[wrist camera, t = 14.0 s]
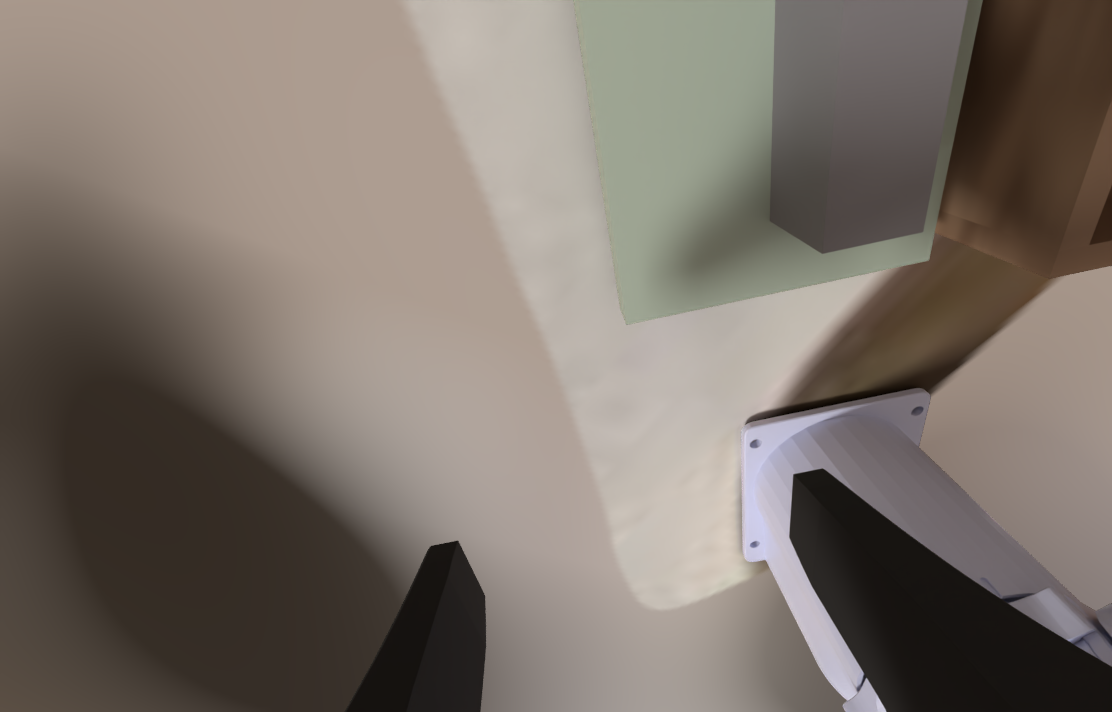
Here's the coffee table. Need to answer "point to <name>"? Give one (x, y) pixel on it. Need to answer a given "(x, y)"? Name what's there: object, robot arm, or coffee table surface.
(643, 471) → the coffee table surface
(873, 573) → the robot arm
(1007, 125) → the toolbox
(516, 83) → the coffee table surface
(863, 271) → the toolbox lid
